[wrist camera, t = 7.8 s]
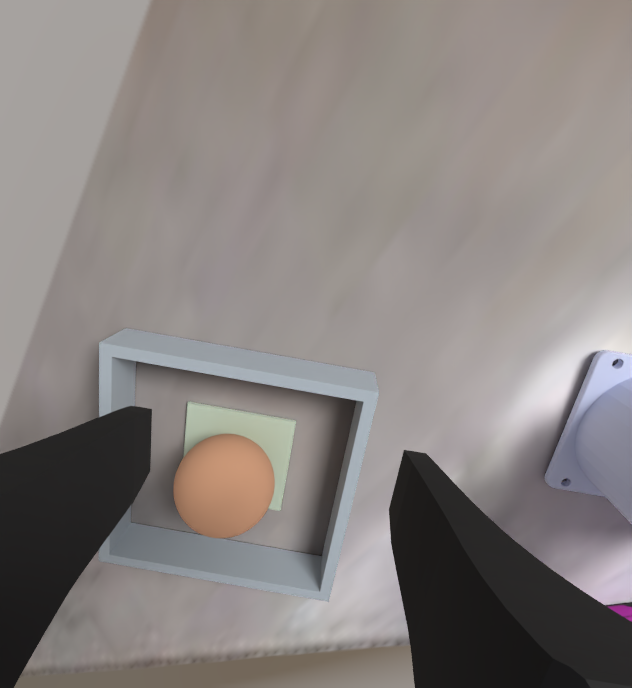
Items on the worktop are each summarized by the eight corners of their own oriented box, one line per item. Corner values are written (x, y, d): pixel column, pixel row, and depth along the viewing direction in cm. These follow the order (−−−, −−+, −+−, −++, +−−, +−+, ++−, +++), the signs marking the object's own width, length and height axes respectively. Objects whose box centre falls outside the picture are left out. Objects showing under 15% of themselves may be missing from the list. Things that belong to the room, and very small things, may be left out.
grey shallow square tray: (374, 372, 21) (378, 392, 19) (329, 565, 25) (328, 601, 23) (125, 327, 21) (99, 342, 19) (121, 528, 25) (98, 561, 23)
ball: (288, 427, 22) (277, 486, 18) (270, 500, 24) (256, 572, 19) (198, 407, 22) (163, 461, 17) (186, 482, 24) (151, 550, 19)
